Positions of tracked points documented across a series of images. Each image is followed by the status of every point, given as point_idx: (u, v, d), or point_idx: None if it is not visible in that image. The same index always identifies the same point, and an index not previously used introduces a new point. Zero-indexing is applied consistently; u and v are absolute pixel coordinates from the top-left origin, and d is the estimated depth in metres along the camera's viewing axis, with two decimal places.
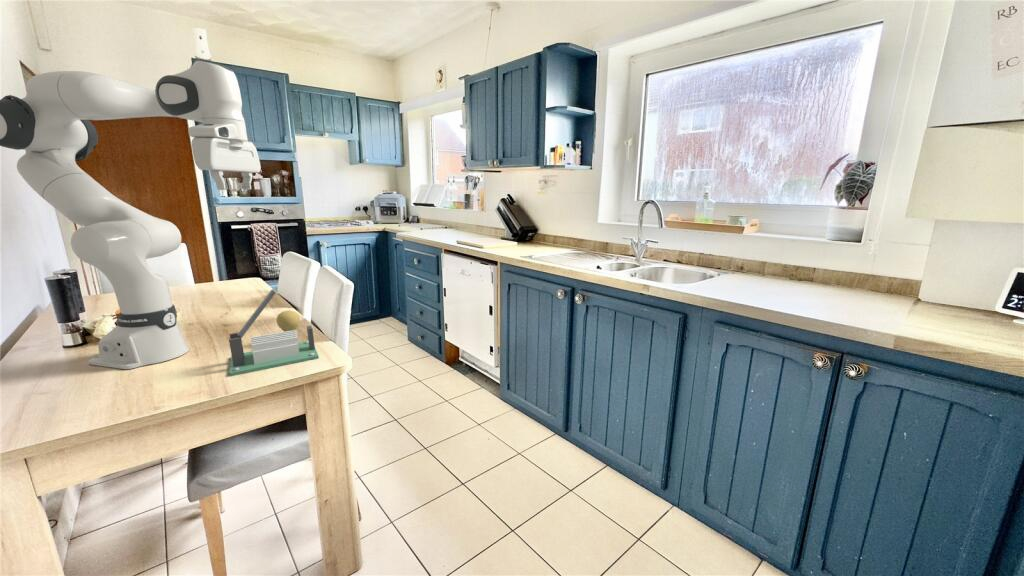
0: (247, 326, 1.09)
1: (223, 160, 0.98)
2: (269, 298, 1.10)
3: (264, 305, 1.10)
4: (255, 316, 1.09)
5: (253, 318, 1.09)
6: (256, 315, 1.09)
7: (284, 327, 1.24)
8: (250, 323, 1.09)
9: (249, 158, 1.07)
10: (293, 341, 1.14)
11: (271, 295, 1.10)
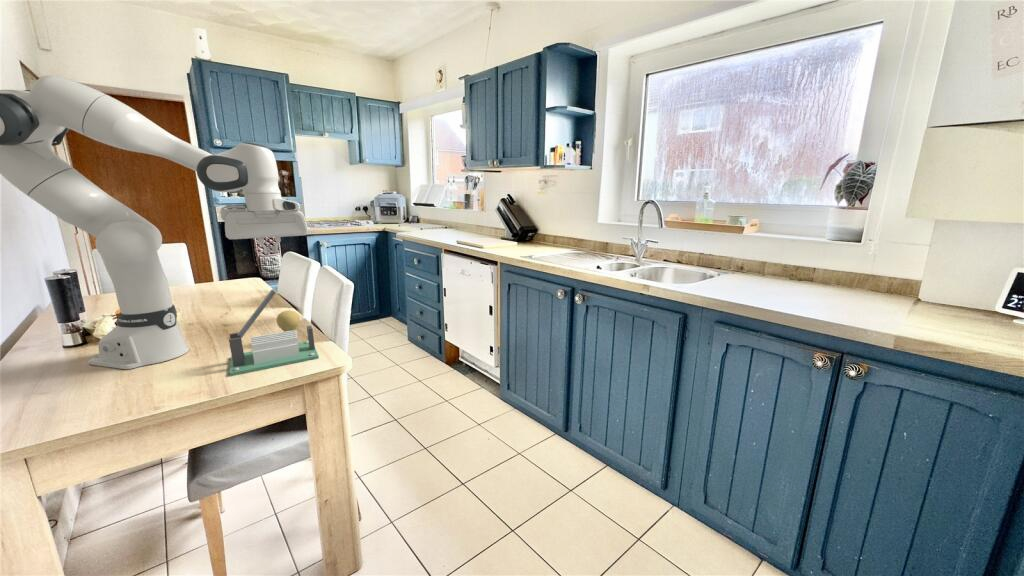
0: (247, 326, 1.09)
1: None
2: (269, 298, 1.10)
3: (264, 305, 1.10)
4: (255, 316, 1.09)
5: (253, 318, 1.09)
6: (256, 315, 1.09)
7: (284, 327, 1.24)
8: (250, 323, 1.09)
9: None
10: (293, 341, 1.14)
11: (271, 295, 1.10)
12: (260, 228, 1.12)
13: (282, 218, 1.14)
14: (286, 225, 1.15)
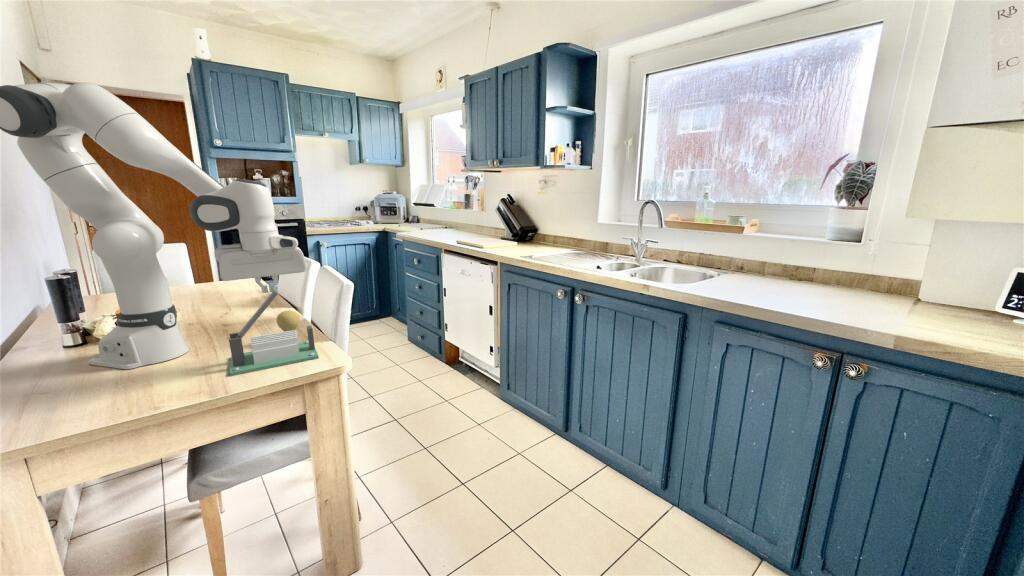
0: (248, 326, 1.09)
1: None
2: (271, 299, 1.10)
3: (265, 306, 1.10)
4: (256, 317, 1.09)
5: (254, 318, 1.09)
6: (257, 316, 1.09)
7: (284, 327, 1.24)
8: (251, 323, 1.09)
9: None
10: (293, 341, 1.14)
11: (273, 296, 1.11)
12: (256, 267, 1.07)
13: (280, 255, 1.09)
14: (284, 262, 1.10)
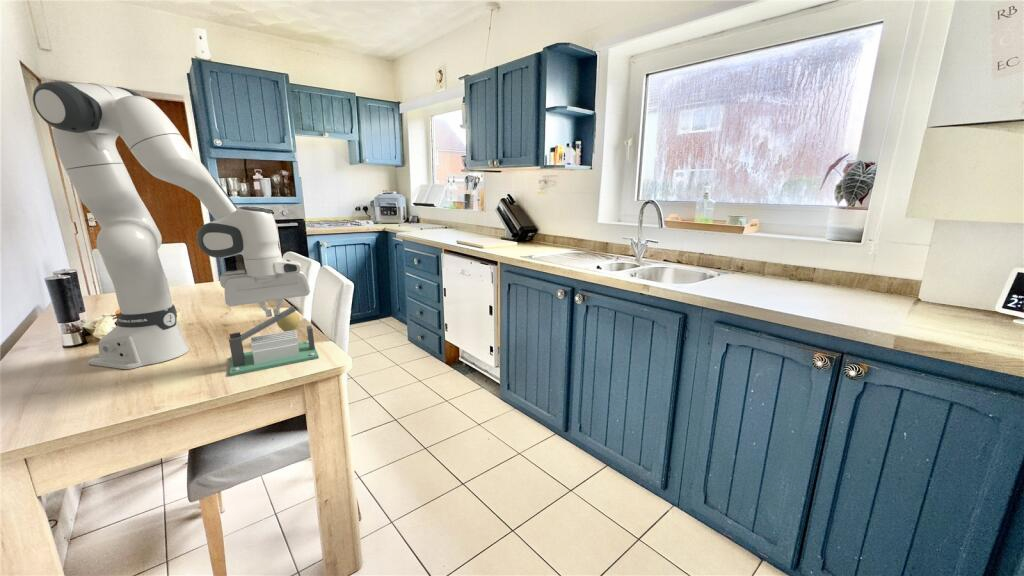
0: (254, 331, 1.10)
1: None
2: (287, 313, 1.13)
3: (279, 318, 1.13)
4: (266, 325, 1.11)
5: (263, 326, 1.11)
6: (268, 324, 1.11)
7: (284, 327, 1.24)
8: (258, 329, 1.10)
9: None
10: (293, 341, 1.14)
11: (290, 311, 1.14)
12: (261, 292, 1.08)
13: (283, 280, 1.11)
14: (288, 287, 1.12)
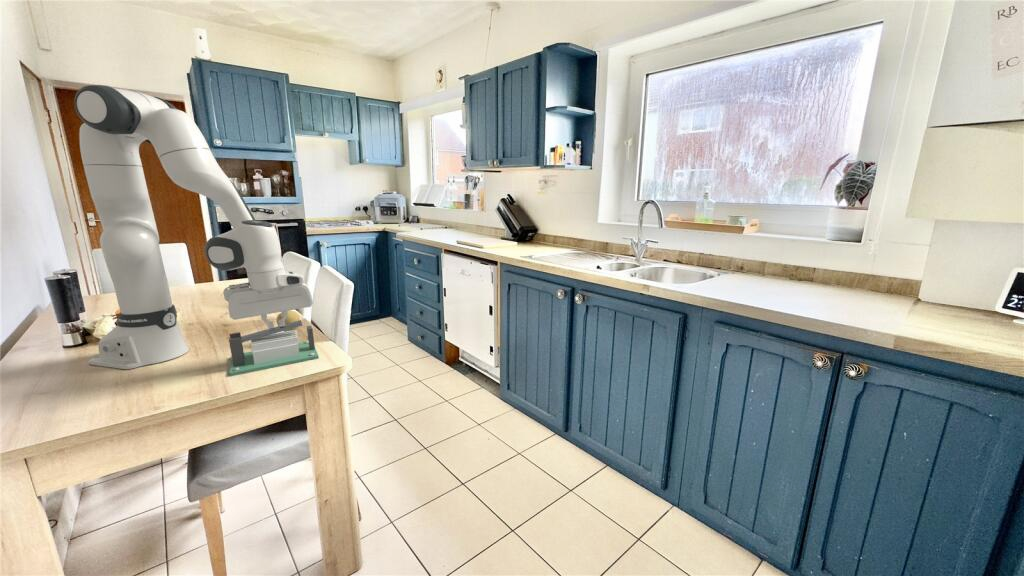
0: (257, 336, 1.10)
1: None
2: (294, 326, 1.15)
3: (285, 329, 1.14)
4: (270, 332, 1.12)
5: (267, 333, 1.12)
6: (272, 332, 1.12)
7: None
8: (261, 335, 1.11)
9: None
10: (293, 341, 1.14)
11: (297, 325, 1.15)
12: (264, 305, 1.09)
13: (286, 292, 1.12)
14: (291, 299, 1.13)
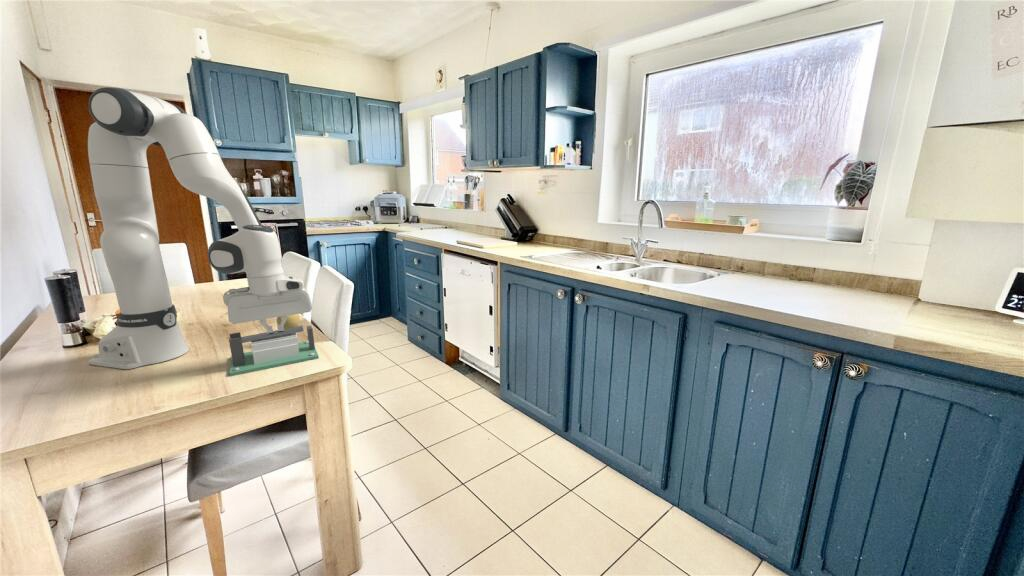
0: (257, 338, 1.11)
1: None
2: (295, 331, 1.15)
3: (286, 333, 1.14)
4: (271, 335, 1.12)
5: (268, 335, 1.12)
6: (273, 335, 1.12)
7: (284, 327, 1.24)
8: (262, 337, 1.11)
9: None
10: (293, 341, 1.14)
11: (298, 330, 1.16)
12: (264, 310, 1.09)
13: (286, 297, 1.12)
14: (291, 303, 1.13)
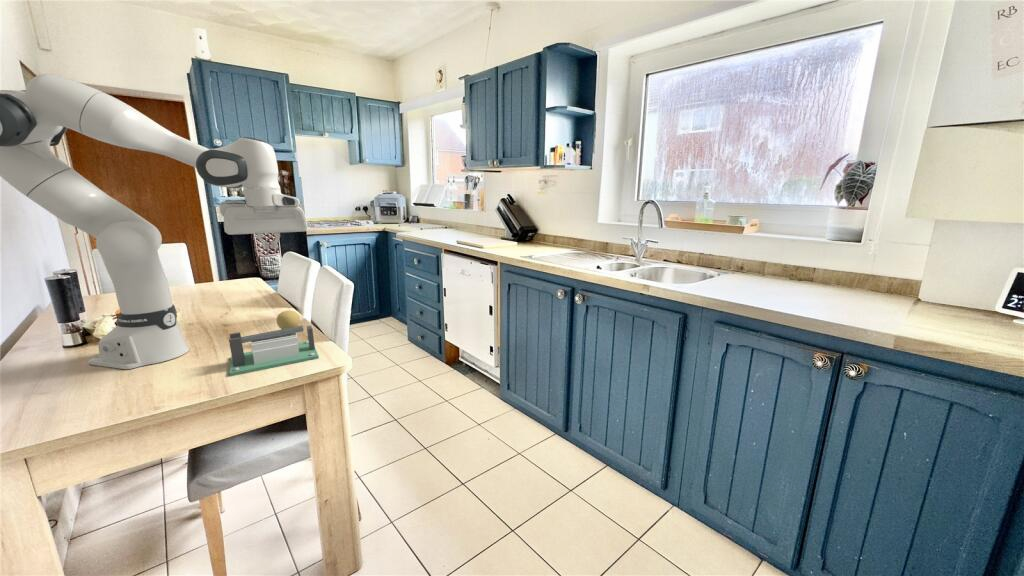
0: (257, 338, 1.11)
1: None
2: (295, 331, 1.15)
3: (286, 333, 1.14)
4: (271, 335, 1.12)
5: (268, 335, 1.12)
6: (273, 335, 1.12)
7: (284, 327, 1.24)
8: (262, 337, 1.11)
9: None
10: (293, 341, 1.14)
11: (298, 330, 1.16)
12: (259, 223, 1.11)
13: (282, 213, 1.14)
14: (286, 220, 1.14)
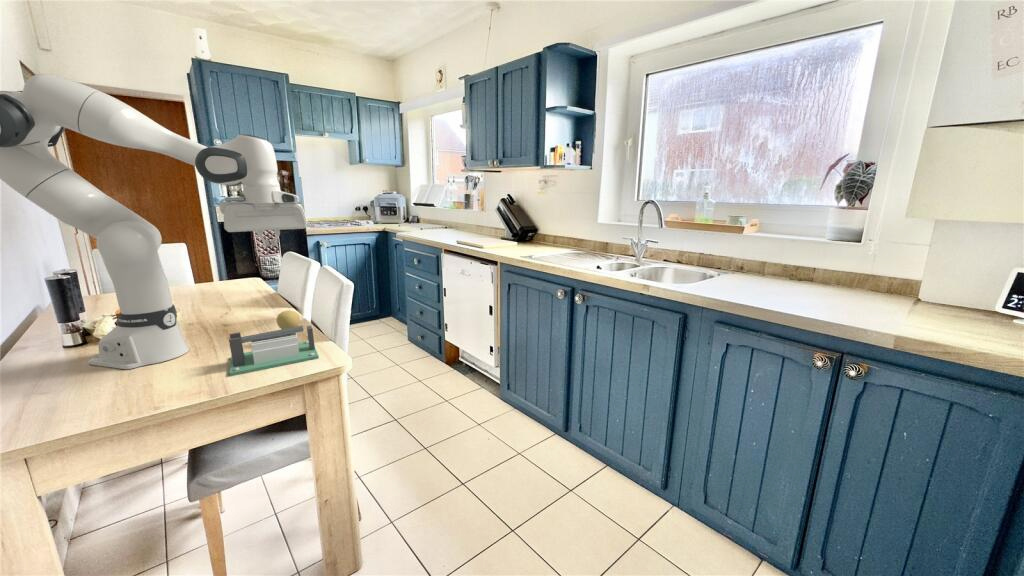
0: (257, 338, 1.11)
1: None
2: (295, 331, 1.15)
3: (286, 333, 1.14)
4: (271, 335, 1.12)
5: (268, 335, 1.12)
6: (273, 335, 1.12)
7: (284, 327, 1.24)
8: (262, 337, 1.11)
9: None
10: (293, 341, 1.14)
11: (298, 330, 1.16)
12: (259, 221, 1.11)
13: (281, 210, 1.14)
14: (286, 218, 1.15)
